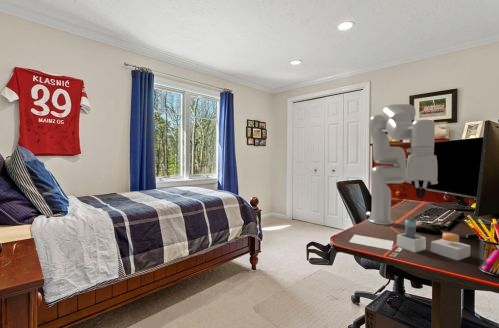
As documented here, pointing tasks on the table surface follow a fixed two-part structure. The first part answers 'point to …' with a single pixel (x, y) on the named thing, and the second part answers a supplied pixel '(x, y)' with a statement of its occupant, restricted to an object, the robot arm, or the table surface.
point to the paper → (372, 242)
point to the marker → (410, 228)
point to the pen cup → (411, 243)
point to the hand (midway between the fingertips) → (420, 197)
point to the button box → (450, 249)
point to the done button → (450, 237)
